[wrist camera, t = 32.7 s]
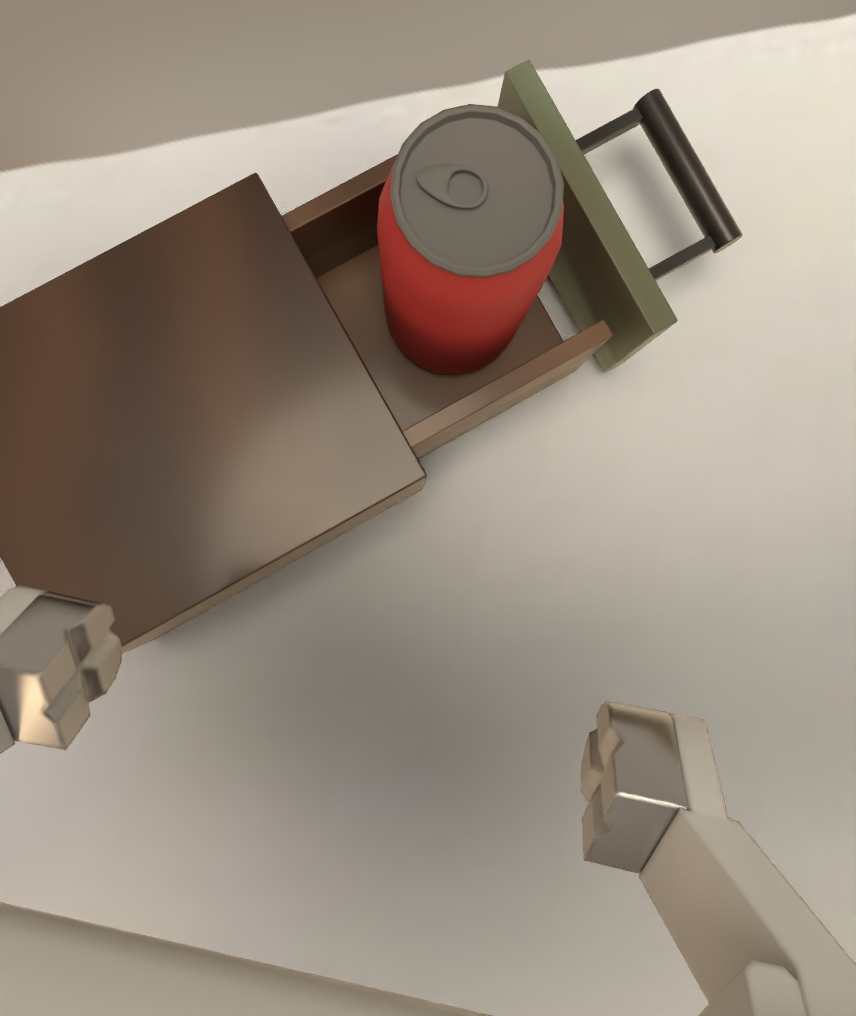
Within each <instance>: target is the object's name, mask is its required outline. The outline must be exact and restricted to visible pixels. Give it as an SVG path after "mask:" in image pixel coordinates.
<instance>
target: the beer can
mask: <svg viewBox="0 0 856 1016" xmlns="http://www.w3.org/2000/svg"><path fill="white" fill-rule="evenodd" d="M563 192H564V182H563V178H562V174H561V170H560V166H559V162H558V158H557V157H556V155H555V153H554V152H553V150H552V149H551V147H550V145H549V144H548V142H547V141H546V139H545V137H544V136H543V135H542V134H541V133H540V132H539V131H538V130H536V129H535V128H534V127H533V126H532V125H531V124H529V123H528V122H527V121H526V120H525V119H524V118H522V117H520V116H518V115H515V114H513V113H511V112H508V111H506V110H504V109H501V108H499V107H494V106H484V105H474V104H469V105H464V106H459V107H455V108H450V109H446V110H443V111H441V112H439V113H438V114H436V115H434V116H432V117H431V118H429V119H427V120H426V121H424V122H422V123H420V125H419V126H418V127H417V128H416V129H415V130H414V131H413V132H412V134H411V135H410V136H409V137H408V138H407V139H406V140H405V142H404V143H403V144H402V146H401V149H400V151H399V154H398V156H397V158H396V161H395V162H394V164H393V166H392V169H391V171H390V174H389V176H388V178H387V181H386V183H385V185H384V188H383V190H382V193H381V195H380V198H379V208H378V221H377V233H378V244H379V255H380V266H381V277H382V288H383V298H384V309H385V316H386V320H387V324H388V328H389V332H390V334H391V336H392V338H393V339H394V341H395V343H396V344H397V346H398V347H399V349H400V351H401V352H402V353H403V354H405V355H406V356H407V357H408V358H409V359H410V360H412V361H413V362H414V363H415V364H416V365H418V366H420V367H423V368H425V369H428V370H430V371H432V372H435V373H439V374H451V375H460V374H464V373H469V372H473V371H477V370H480V369H481V368H483V367H485V366H486V365H488V364H489V363H491V362H493V361H494V360H496V359H497V358H498V357H499V356H500V354H501V353H502V352H503V351H504V350H505V349H506V347H507V346H508V345H509V344H510V342H511V340H512V339H513V337H514V335H515V333H516V332H517V330H518V328H519V326H520V324H521V323H522V321H523V319H524V317H525V316H526V314H527V312H528V310H529V308H530V307H531V305H532V303H533V301H534V300H535V298H536V296H537V294H538V292H539V291H540V289H541V287H542V285H543V283H544V282H545V280H546V278H547V276H548V275H549V273H550V271H551V269H552V266H553V264H554V261H555V259H556V256H557V254H558V252H559V249H560V247H561V244H562V230H563V216H564V204H563Z"/></svg>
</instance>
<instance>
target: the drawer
mask: <svg viewBox="0 0 856 1016" xmlns="http://www.w3.org/2000/svg"><path fill="white" fill-rule="evenodd" d="M498 107H499V108H501V109H504V110H506V111H508V112H511V113H513V114H515V115H518V116H520V117H522V118H524V119H525V120H526V121H527V122H528V123H529V124H531V125H532V126H533V127H534V128H535V129H536V130H538V131H539V132H540V133H541V134H542V135H543V136H544V137H545V139H546V141H547V142H548V144H549V145H550V147H551V149H552V150H553V152H554V153H555V155H556V157H557V158H558V162H559V166H560V170H561V174H562V178H563V182H564V192H563V204H564V216H563V230H562V244H561V247H560V249H559V252H558V254H557V256H556V259H555V261H554V264H553V266H552V269H551V271H550V273H549V276H550V278H551V280H552V282H553V284H554V285H555V287H556V289H557V291H558V292H559V294H560V296H561V298H562V299H563V301H564V303H565V305H566V306H567V308H568V310H569V312H570V313H571V315H572V317H573V319H574V321H575V322H576V324H577V326H578V328H579V329H580V331H581V332H580V333H578V334H576V335H574V336H573V337H571V338H569V339H567V340H565V341H564V342H563V340H562V338H561V336H560V335H559V333H558V331H557V329H556V328H555V326H554V324H553V322H552V321H551V319H550V317H549V315H548V313H547V312H546V310H545V308H544V306H543V305H542V303H541V301H540V299H539V298H538V296H536V298H535V300H534V301H533V303H532V305H531V307H530V308H529V310H528V312H527V314H526V316H525V317H524V319H523V321H522V323H521V324H520V326H519V328H518V330H517V332H516V333H515V335H514V337H513V339H512V340H511V342H510V344H509V345H508V346H507V347H506V349H505V350H504V351H503V352H502V353H501V354H500V356H499V357H498V358H497V359H496V360H494V361H493V362H491V363H489V364H488V365H486V366H485V367H483V368H481V369H480V370H477V371H473V372H469V373H464V374H460V375H451V374H439V373H435V372H432V371H430V370H428V369H425V368H423V367H420V366H418V365H416V364H415V363H414V362H413V361H412V360H410V359H409V358H408V357H407V356H406V355H405V354H403V353H402V352H401V351H400V349H399V347H398V346H397V344H396V343H395V341H394V339H393V338H392V336H391V334H390V332H389V328H388V324H387V320H386V316H385V309H384V298H383V288H382V277H381V266H380V255H379V244H378V233H377V221H378V208H379V198H380V195H381V193H382V190H383V188H384V185H385V183H386V181H387V178H388V176H389V174H390V171H391V169H392V166H393V164H394V162H395V161H396V158H397V156H398V154H397V155H395V156H393V157H392V158H390V159H388V160H386V161H384V162H382V163H380V164H378V165H377V166H375V167H373V168H371V169H369V170H367V171H365V172H363V173H362V174H360V175H358V176H356V177H354V178H352V179H350V180H348V181H346V182H345V183H343V184H341V185H339V186H337V187H335V188H333V189H331V190H330V191H328V192H326V193H324V194H322V195H320V196H318V197H316V198H315V199H313V200H311V201H309V202H307V203H305V204H303V205H301V206H299V207H298V208H296V209H294V210H292V211H290V212H288V213H286V214H284V215H283V216H282V218H283V220H284V222H285V223H286V225H287V227H288V229H289V230H290V232H291V234H292V236H293V238H294V239H295V241H296V243H297V245H298V246H299V248H300V250H301V252H302V254H303V255H304V257H305V259H306V261H307V262H308V264H309V266H310V268H311V270H312V271H313V273H314V275H315V277H316V278H317V280H318V282H319V284H320V286H321V287H322V289H323V291H324V293H325V294H326V296H327V298H328V300H329V302H330V303H331V305H332V307H333V309H334V310H335V312H336V314H337V316H338V318H339V319H340V321H341V323H342V325H343V326H344V328H345V330H346V332H347V334H348V335H349V337H350V339H351V341H352V342H353V344H354V346H355V348H356V350H357V351H358V353H359V355H360V357H361V358H362V360H363V362H364V364H365V365H366V367H367V369H368V371H369V373H370V374H371V376H372V378H373V380H374V381H375V383H376V385H377V387H378V389H379V390H380V392H381V394H382V396H383V397H384V399H385V401H386V403H387V405H388V406H389V408H390V410H391V412H392V413H393V415H394V417H395V419H396V421H397V422H398V424H399V426H400V428H401V429H402V431H403V433H404V435H405V437H406V438H407V440H408V442H409V444H410V445H411V447H412V449H413V451H414V453H415V454H416V456H417V458H420V457H422V456H424V455H426V454H427V453H429V452H431V451H433V450H435V449H436V448H438V447H440V446H442V445H444V444H445V443H447V442H449V441H451V440H453V439H454V438H456V437H458V436H460V435H462V434H463V433H465V432H467V431H469V430H470V429H472V428H474V427H476V426H478V425H479V424H481V423H483V422H485V421H487V420H488V419H490V418H492V417H494V416H496V415H497V414H499V413H501V412H503V411H505V410H506V409H508V408H510V407H512V406H514V405H515V404H517V403H519V402H521V401H523V400H524V399H526V398H528V397H530V396H531V395H533V394H535V393H537V392H539V391H540V390H542V389H544V388H546V387H548V386H549V385H551V384H553V383H555V382H557V381H558V380H560V379H562V378H564V377H566V376H567V375H569V374H571V373H573V372H574V371H575V370H576V369H577V368H579V367H580V366H581V365H582V364H583V363H584V362H585V361H586V360H587V359H588V358H590V357H591V356H592V355H593V354H594V356H595V358H596V359H597V361H598V363H599V365H600V366H601V368H602V370H603V372H604V373H605V372H607V371H609V370H611V369H613V368H615V367H616V366H618V365H620V364H622V363H623V362H625V361H626V360H627V359H629V358H630V357H631V356H633V355H634V354H635V353H636V352H638V351H639V350H640V349H642V348H643V347H644V346H646V345H647V344H648V343H650V342H651V341H652V340H654V339H655V338H656V337H657V336H659V335H660V334H661V333H663V332H664V331H665V330H667V329H668V328H669V327H671V326H672V325H673V324H675V323H676V322H677V318H676V316H675V315H674V313H673V311H672V309H671V308H670V306H669V304H668V302H667V301H666V299H665V297H664V295H663V294H662V292H661V290H660V288H659V287H658V285H657V283H656V281H657V280H658V279H660V278H662V277H664V276H666V275H667V274H669V273H671V272H673V271H675V270H676V269H678V268H680V267H682V266H684V265H685V264H687V263H689V262H691V261H693V260H695V259H696V258H698V257H700V256H702V255H704V254H705V253H707V252H709V251H711V250H712V251H713V253H718V252H720V251H722V250H724V249H725V248H727V247H728V246H730V245H732V244H733V243H734V242H736V241H737V240H738V239H740V238H741V237H742V233H741V231H740V230H739V228H738V226H737V224H736V223H735V221H734V219H733V217H732V216H731V214H730V212H729V210H728V209H727V207H726V205H725V203H724V202H723V200H722V198H721V196H720V195H719V193H718V191H717V189H716V188H715V186H714V184H713V182H712V181H711V179H710V177H709V175H708V174H707V172H706V170H705V168H704V167H703V165H702V163H701V161H700V160H699V158H698V156H697V154H696V153H695V151H694V149H693V147H692V146H691V144H690V142H689V140H688V139H687V137H686V135H685V133H684V132H683V130H682V128H681V126H680V125H679V123H678V121H677V119H676V118H675V116H674V114H673V112H672V111H671V109H670V107H669V105H668V104H667V102H666V100H665V98H664V97H663V95H662V93H661V91H660V90H659V89H655V90H652V91H650V92H649V93H647V94H646V95H644V96H643V97H642V98H641V99H640V100H639V101H638V102H637V103H636V104H635V106H634V108H633V110H631V111H629V112H627V113H626V114H624V115H622V116H620V117H618V118H616V119H614V120H613V121H611V122H609V123H607V124H605V125H603V126H601V127H600V128H598V129H596V130H594V131H592V132H590V133H588V134H587V135H585V136H583V137H581V138H579V139H577V140H575V139H574V137H573V135H572V134H571V132H570V130H569V128H568V127H567V125H566V123H565V121H564V120H563V118H562V116H561V114H560V113H559V111H558V109H557V107H556V106H555V104H554V102H553V100H552V99H551V97H550V95H549V93H548V92H547V90H546V88H545V86H544V85H543V83H542V81H541V79H540V78H539V76H538V74H537V72H536V70H535V69H534V67H533V65H532V64H531V62H530V60H527V61H525V62H523V63H521V64H519V65H517V66H516V67H514V68H512V69H510V70H508V71H506V72H505V75H504V80H503V84H502V89H501V94H500V98H499V103H498ZM639 124H640V125H641V126H642V128H643V130H644V132H645V133H646V135H647V137H648V139H649V140H650V142H651V144H652V146H653V147H654V149H655V151H656V153H657V154H658V156H659V158H660V160H661V161H662V163H663V165H664V167H665V169H666V170H667V172H668V174H669V176H670V177H671V179H672V181H673V183H674V184H675V186H676V188H677V190H678V191H679V193H680V195H681V197H682V198H683V200H684V202H685V204H686V205H687V207H688V209H689V211H690V212H691V214H692V216H693V218H694V219H695V221H696V223H697V225H698V226H699V228H700V230H701V232H702V233H703V235H704V237H705V238H704V239H702V240H700V241H698V242H696V243H694V244H693V245H691V246H689V247H687V248H685V249H684V250H682V251H680V252H678V253H676V254H675V255H673V256H671V257H669V258H667V259H666V260H664V261H662V262H660V263H658V264H656V265H655V266H653V267H651V268H649V269H648V267H647V265H646V264H645V262H644V260H643V258H642V257H641V255H640V253H639V251H638V250H637V248H636V246H635V244H634V243H633V241H632V239H631V237H630V236H629V234H628V232H627V230H626V229H625V227H624V225H623V223H622V222H621V220H620V218H619V216H618V215H617V213H616V211H615V209H614V208H613V206H612V204H611V202H610V200H609V199H608V197H607V195H606V193H605V192H604V190H603V188H602V186H601V185H600V183H599V181H598V179H597V178H596V176H595V174H594V172H593V171H592V169H591V167H590V165H589V164H588V162H587V160H586V158H585V157H584V154H586V153H588V152H589V151H591V150H593V149H595V148H597V147H599V146H601V145H602V144H604V143H606V142H608V141H610V140H612V139H614V138H615V137H617V136H619V135H621V134H623V133H625V132H627V131H628V130H630V129H632V128H634V127H636V126H638V125H639Z"/></svg>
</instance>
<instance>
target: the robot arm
mask: <svg viewBox="0 0 856 1016" xmlns="http://www.w3.org/2000/svg"><path fill="white" fill-rule="evenodd" d="M114 621H115V617H114V614H113V611H112V608H111V606H110V605H107V604H104V603H99V602H95V601H90V600H86V599H81V598H77V597H73V596H68V595H64V594H59V593H55V592H50V591H45V590H40V589H35V588H31V587H26V586H21V585H20V586H17V587H15V588H12V589H10V590H8V591H7V592H6V593H5V594H4V595H3V596H2V597H1V598H0V754H1V753H2V752H4V751H5V750H7V749H8V748H10V747H11V746H13V745H14V744H15V742H14V741H19V742H24V743H30V744H35V745H40V746H46V747H51V748H57V749H62V750H66V749H67V748H68V747H69V745H70V744H71V742H72V741H73V739H74V738H75V737H76V735H77V734H78V732H79V731H80V729H81V728H82V727H83V725H84V724H85V722H86V721H87V720H88V718H89V717H90V709H89V702H91V701H93V700H95V699H97V698H99V697H100V696H102V695H104V694H106V692H107V691H108V689H109V688H110V686H111V685H112V683H113V682H114V680H115V678H116V676H117V673H118V670H119V667H120V664H121V659H122V647H121V642H120V639H119V638H118V636H117V635H116V634H115V633H114V632H113V631H112V630H111V629H110V626H111V625H112V624H113V622H114ZM581 792H582V793H583V795H584V796H585V798H586V799H587V801H588V802H589V804H588V806H587V808H586V811H585V813H584V815H583V817H582V827H583V851H584V860H585V861H589V862H593V863H597V864H601V865H605V866H610V867H614V868H618V869H622V870H626V871H630V872H634V873H639V874H640V875H639V878H640V880H641V881H642V883H643V885H644V887H645V889H646V890H647V892H648V894H649V896H650V898H651V899H652V901H653V903H654V905H655V907H656V908H657V910H658V912H659V914H660V916H661V917H662V919H663V921H664V923H665V925H666V926H667V928H668V930H669V932H670V934H671V935H672V937H673V939H674V941H675V943H676V944H677V946H678V948H679V950H680V952H681V953H682V955H683V957H684V959H685V961H686V962H687V964H688V966H689V968H690V970H691V972H692V973H693V975H694V977H695V979H696V981H697V982H698V984H699V986H700V988H701V990H702V991H703V993H704V995H705V997H706V999H707V1000H708V1002H709V1005H708V1006H707V1007H706V1008H705V1009H704V1010H703V1011H702V1012H701V1013H700V1014H699V1015H698V1016H856V964H855V962H854V961H853V960H852V959H851V958H850V956H849V955H848V954H847V953H846V952H845V950H844V949H843V948H842V947H841V945H840V944H839V943H838V942H837V941H836V939H835V938H834V937H833V936H832V934H831V933H830V932H829V931H828V930H827V928H826V927H825V926H824V925H823V924H822V922H821V921H820V920H819V919H818V917H817V916H816V915H815V914H814V913H813V911H812V910H811V909H810V908H809V906H808V905H807V904H806V903H805V902H804V900H803V899H802V898H801V897H800V895H799V894H798V893H797V892H796V891H795V889H794V888H793V887H792V886H791V885H790V883H789V882H788V881H787V880H786V878H785V877H784V876H783V875H782V874H781V872H780V871H779V870H778V869H777V867H776V866H775V865H774V864H773V863H772V861H771V860H770V859H769V858H768V857H767V855H766V854H765V853H764V852H763V850H762V849H761V848H760V847H759V846H758V844H757V843H756V842H755V841H754V839H753V838H752V837H751V836H750V835H749V833H748V832H747V831H746V830H745V829H744V827H743V826H742V825H741V824H740V822H739V821H735V820H731V819H728V815H727V811H726V806H725V802H724V798H723V793H722V789H721V785H720V780H719V776H718V772H717V767H716V763H715V759H714V754H713V750H712V746H711V741H710V737H709V733H708V728H707V725H706V724H705V722H704V721H703V720H702V719H697V718H692V717H687V716H682V715H677V714H671V713H667V712H664V711H658V710H653V709H647V708H642V707H636V706H631V705H625V704H620V703H615V702H609V701H604V702H603V703H602V705H601V706H600V709H599V711H598V713H597V729H596V730H594V731H592V732H590V733H589V736H588V738H587V741H586V744H585V747H584V753H583V758H582V765H581ZM0 1016H492V1015H487V1014H483V1013H479V1012H474V1011H470V1010H466V1009H461V1008H457V1007H453V1006H448V1005H444V1004H440V1003H435V1002H431V1001H427V1000H422V999H418V998H414V997H409V996H405V995H401V994H396V993H392V992H388V991H383V990H379V989H375V988H370V987H366V986H362V985H357V984H353V983H349V982H344V981H340V980H336V979H331V978H327V977H323V976H318V975H314V974H310V973H305V972H301V971H297V970H292V969H288V968H284V967H279V966H275V965H271V964H266V963H262V962H258V961H253V960H249V959H245V958H240V957H236V956H232V955H227V954H223V953H219V952H214V951H210V950H206V949H201V948H197V947H193V946H188V945H184V944H180V943H175V942H171V941H167V940H162V939H158V938H154V937H149V936H145V935H141V934H136V933H132V932H128V931H123V930H119V929H115V928H110V927H106V926H102V925H97V924H93V923H89V922H84V921H80V920H76V919H71V918H67V917H63V916H58V915H54V914H50V913H45V912H41V911H37V910H32V909H28V908H24V907H19V906H15V905H11V904H6V903H2V902H0Z"/></svg>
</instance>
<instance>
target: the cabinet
mask: <svg viewBox="0 0 856 1016" xmlns="http://www.w3.org/2000/svg"><path fill="white" fill-rule="evenodd" d="M426 477H427V474H426V472H425V470H424V469H423V467H422V465H421V463H420V461H419V460H418V458H417V456H416V454H415V453H414V451H413V449H412V447H411V445H410V444H409V442H408V440H407V438H406V437H405V435H404V433H403V431H402V429H401V428H400V426H399V424H398V422H397V421H396V419H395V417H394V415H393V413H392V412H391V410H390V408H389V406H388V405H387V403H386V401H385V399H384V397H383V396H382V394H381V392H380V390H379V389H378V387H377V385H376V383H375V381H374V380H373V378H372V376H371V374H370V373H369V371H368V369H367V367H366V365H365V364H364V362H363V360H362V358H361V357H360V355H359V353H358V351H357V350H356V348H355V346H354V344H353V342H352V341H351V339H350V337H349V335H348V334H347V332H346V330H345V328H344V326H343V325H342V323H341V321H340V319H339V318H338V316H337V314H336V312H335V310H334V309H333V307H332V305H331V303H330V302H329V300H328V298H327V296H326V294H325V293H324V291H323V289H322V287H321V286H320V284H319V282H318V280H317V278H316V277H315V275H314V273H313V271H312V270H311V268H310V266H309V264H308V262H307V261H306V259H305V257H304V255H303V254H302V252H301V250H300V248H299V246H298V245H297V243H296V241H295V239H294V238H293V236H292V234H291V232H290V230H289V229H288V227H287V225H286V223H285V222H284V220H283V218H282V216H281V214H280V213H279V211H278V209H277V207H276V206H275V204H274V202H273V200H272V198H271V197H270V195H269V193H268V191H267V190H266V188H265V186H264V184H263V182H262V181H261V179H260V177H259V175H258V174H257V173H254V174H252V175H250V176H248V177H246V178H244V179H243V180H241V181H239V182H237V183H235V184H233V185H231V186H229V187H227V188H225V189H224V190H222V191H220V192H218V193H216V194H214V195H212V196H210V197H208V198H206V199H205V200H203V201H201V202H199V203H197V204H195V205H193V206H191V207H189V208H188V209H186V210H184V211H182V212H180V213H178V214H176V215H174V216H172V217H170V218H169V219H167V220H165V221H163V222H161V223H159V224H157V225H155V226H153V227H151V228H150V229H148V230H146V231H144V232H142V233H140V234H138V235H136V236H134V237H133V238H131V239H129V240H127V241H125V242H123V243H121V244H119V245H117V246H115V247H114V248H112V249H110V250H108V251H106V252H104V253H102V254H100V255H98V256H96V257H95V258H93V259H91V260H89V261H87V262H85V263H83V264H81V265H79V266H78V267H76V268H74V269H72V270H70V271H68V272H66V273H64V274H62V275H60V276H59V277H57V278H55V279H53V280H51V281H49V282H47V283H45V284H43V285H41V286H40V287H38V288H36V289H34V290H32V291H30V292H28V293H26V294H24V295H23V296H21V297H19V298H17V299H15V300H13V301H11V302H9V303H7V304H5V305H4V306H2V307H0V557H1V559H2V560H3V562H4V564H5V566H6V568H7V569H8V571H9V573H10V575H11V577H12V578H13V580H14V582H15V584H16V586H20V585H21V586H26V587H31V588H35V589H40V590H45V591H50V592H55V593H59V594H64V595H68V596H73V597H77V598H81V599H86V600H90V601H95V602H99V603H104V604H107V605H110V606H111V608H112V611H113V614H114V617H115V621H114V622H113V624H112V625H111V626H110V629H111V630H112V631H113V632H114V633H115V634H116V635H117V636H118V638H119V639H120V642H121V647H122V653H124V652H127V651H129V650H131V649H134V648H136V647H138V646H140V645H143V644H145V643H147V642H149V641H152V640H154V639H156V638H158V637H160V636H161V635H163V634H165V633H167V632H168V631H170V630H172V629H174V628H176V627H177V626H179V625H181V624H183V623H185V622H186V621H188V620H190V619H192V618H193V617H195V616H197V615H199V614H201V613H202V612H204V611H206V610H208V609H210V608H211V607H213V606H215V605H217V604H218V603H220V602H222V601H224V600H226V599H227V598H229V597H231V596H233V595H235V594H236V593H238V592H240V591H242V590H243V589H245V588H247V587H249V586H251V585H252V584H254V583H256V582H258V581H260V580H261V579H263V578H265V577H267V576H268V575H270V574H272V573H274V572H276V571H277V570H279V569H281V568H283V567H285V566H286V565H288V564H290V563H292V562H293V561H295V560H297V559H299V558H301V557H302V556H304V555H306V554H308V553H310V552H311V551H313V550H315V549H317V548H318V547H320V546H322V545H324V544H326V543H327V542H329V541H331V540H333V539H335V538H336V537H338V536H340V535H342V534H343V533H345V532H347V531H349V530H351V529H352V528H354V527H356V526H358V525H360V524H361V523H363V522H365V521H367V520H368V519H370V518H372V517H374V516H376V515H377V514H379V513H381V512H383V511H384V510H386V509H388V508H390V507H392V506H393V505H395V504H397V503H399V502H401V501H402V500H404V499H406V498H408V497H409V496H411V495H413V494H415V493H417V492H418V491H420V490H421V489H422V487H423V485H424V482H425V480H426Z"/></svg>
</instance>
